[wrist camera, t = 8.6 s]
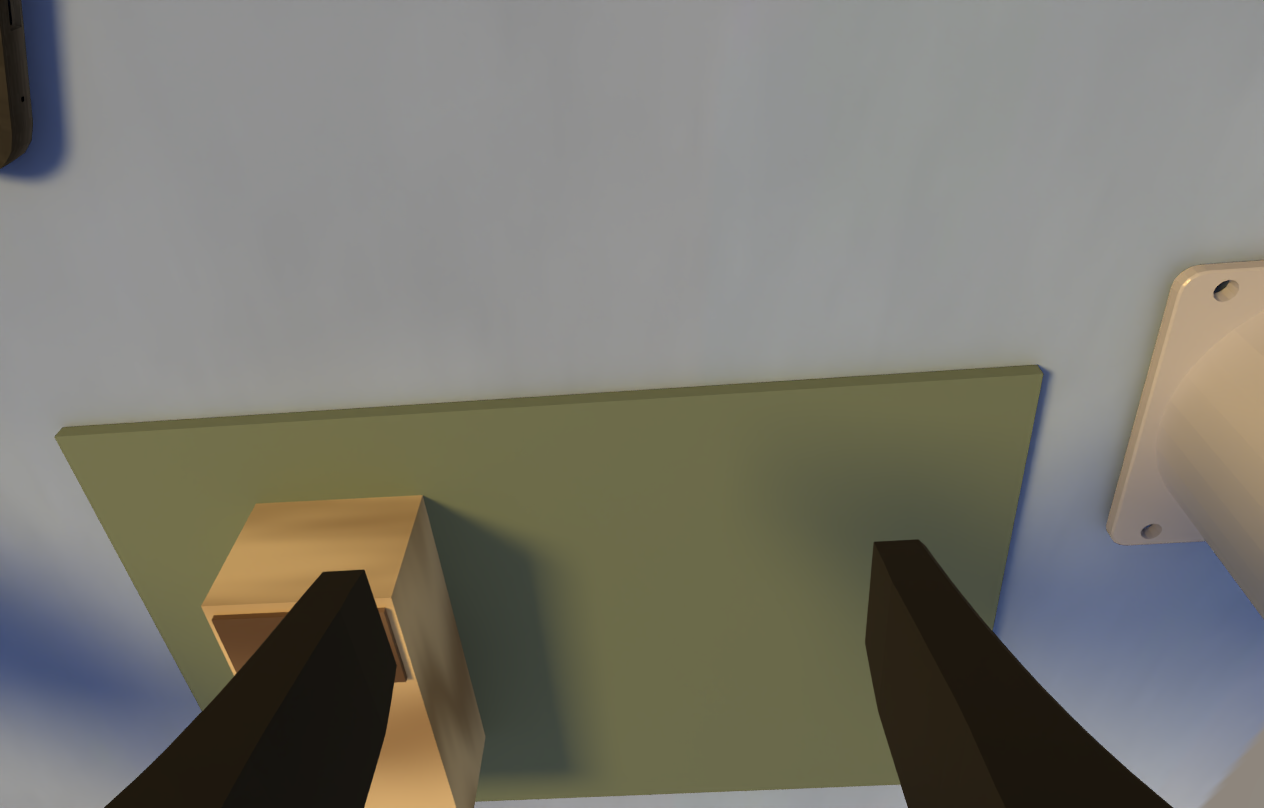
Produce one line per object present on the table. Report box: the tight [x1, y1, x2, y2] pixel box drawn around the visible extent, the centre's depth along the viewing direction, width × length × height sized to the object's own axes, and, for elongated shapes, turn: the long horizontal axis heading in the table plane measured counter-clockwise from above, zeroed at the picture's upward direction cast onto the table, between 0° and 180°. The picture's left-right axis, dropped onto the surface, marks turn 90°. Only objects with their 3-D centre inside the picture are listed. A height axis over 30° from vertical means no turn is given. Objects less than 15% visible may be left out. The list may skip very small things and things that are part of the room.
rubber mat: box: [55, 365, 1043, 802], centre depth 27 cm, size 24×16×1 cm, turn 95°
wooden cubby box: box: [201, 495, 485, 808], centre depth 25 cm, size 10×4×4 cm, turn 4°
